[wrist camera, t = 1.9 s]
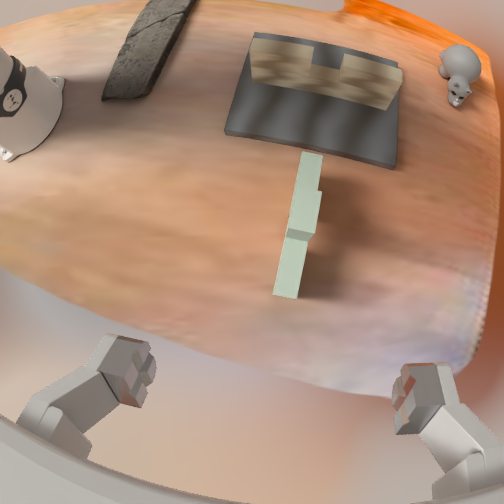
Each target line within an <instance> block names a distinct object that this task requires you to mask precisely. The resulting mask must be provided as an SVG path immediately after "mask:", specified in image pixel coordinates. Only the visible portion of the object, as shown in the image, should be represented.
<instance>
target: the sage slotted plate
mask: <svg viewBox="0 0 504 504" xmlns="http://www.w3.org/2000/svg"><path fill="white" fill-rule="evenodd" d="M322 160H323V155H319V154H314V153H309V152H305V151H302V154H301V158H300V163H299V167H298V172H297V176H296V182H295V187H294V192H293V197H292V202H291V207H290V212H289V220H288V225H287V230H286V235H285V240H284V244H283V247H282V252H281V257H280V262H279V266H278V271H277V276H276V281H275V285H274V290H273V294H274V295H278V296H283V297H288V298H293V299H297V295H298V290H299V285H300V280H301V275H302V271H303V266H304V261H305V256H306V250H307V245H308V242H309V240H310V239H311V238H312V237H313V235H314V234H315V230H316V224H317V219H318V213H319V207H320V201H321V195H322V191H317V190H318V184H319V178H320V172H321V166H322Z"/></svg>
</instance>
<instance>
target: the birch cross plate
mask: <svg viewBox="0 0 504 504" xmlns="http://www.w3.org/2000/svg"><path fill="white" fill-rule="evenodd" d="M402 83H403V81H402V70H401V69H398V62H395V61H392V60H389V59H385V58H382V57H379V56H375V55H372V54H368V53H364V52H361V51H357V50H353V49H349V48H345V47H340V46H336V45H332V44H327V43H322V42H317V41H312V40H306V39H301V38H295V37H288V36H282V35H274V34H267V33H258V32H255V33H254V36H253V39H252V42H251V45H250V48H249V51H248V54H247V57H246V60H245V63H244V66H243V69H242V72H241V76H240V79H239V82H238V85H237V88H236V92H235V95H234V98H233V101H232V105H231V108H230V111H229V115H228V118H227V122H226V125H225V128H224V131H225V134H226V135H232V136H238V137H245V138H251V139H257V140H263V141H268V142H274V143H279V144H285V145H290V146H295V147H300V148H305V149H309V150H314V151H319V152H323V153H328V154H332V155H336V156H341V157H345V158H349V159H353V160H357V161H361V162H365V163H368V164H372V165H376V166H380V167H383V168H387V169H390V170H393V169H394V168H395V167H396V159H397V139H398V90H399V88H400V86H401V85H402Z"/></svg>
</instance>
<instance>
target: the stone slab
mask: <svg viewBox="0 0 504 504" xmlns="http://www.w3.org/2000/svg"><path fill="white" fill-rule="evenodd" d="M195 2H196V0H150V1H149V2H148V4H147V5H146V6H145V8H144V9H143V10H142V12H141V13H140V14H139V16H138V18H137V19H136V21H135V23H134V24H133V26H132V28H131V30H130V31H129V33H128V35H127V38H126V41H125V44H124V45H123V46H122V48H121V50H120V51H119V54H118V56H117V59H116V60H115V63H114V65H113V68H112V71H111V73H110V76H109V78H108V80H107V83H106V86H105V88H104V91H103V95H102V99H101V100H102V102H103V101H104V100H105V99H108V98H118V97H122V98H138V97H139V96H141V95H147V94H148V93H149V92H150V91H151V89H152V87H153V86H154V84H155V82H156V80H157V78H158V76H159V74H160V73H161V70H162V68H163V66H164V64H165V62H166V59H167V57H168V55H169V53H170V51H171V49H172V47H173V45H174V43H175V42H176V40H177V38H178V36H179V33H180V32H181V30H182V27H183V25H184V23H185V21H186V18H187V17H188V14H189V13H190V11H191V9H192V7H193V5H194V4H195Z"/></svg>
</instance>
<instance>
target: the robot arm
mask: <svg viewBox="0 0 504 504" xmlns="http://www.w3.org/2000/svg"><path fill="white" fill-rule="evenodd" d="M63 86H64V79H62V78H61V77H52V76H47V75H46V74H45V73H44V72H42V71H41V70H40V69H39V68H38V67H36V66H35V67H26V68H25V66H24V65H23V64H22V63H21V62H20V61H19V60H18V59H16V58H15V57H14V56H9V55H8V54H7V53H6V52H5V51H4V50H3V49H2V48H1V47H0V154H1V155H2V157H3V159H4V160H5V161H6V162H10V161H12V160H13V159H14V158H15V157H17V156H18V155H20V154H23V153H26V152H29V151H31V150H32V149H34V148H35V147H37V146H38V145H39V144H40V143H41V142H42V141H43V140H44V139H45V138H46V137H47V136H48V134H49V133H50V132H51V130H52V129H53V127H54V126H55V124H56V122H57V120H58V118H59V115H60V112H61V109H62V89H63ZM150 349H151V347H150V345H149V343H148V342H146V341H142V340H137V339H133V338H128V337H124V336H120V335H115V334H111V333H107V334H106V335H104V336H103V338H102V340H101V342H100V343H99V345H98V346H97V348H96V349H95V351H94V352H93V354H92V356H91V358H90V359H89V361H88V362H87V364H86V366H85V367H79V368H78V369H76V370H74V371H73V372H71V373H69V374H68V375H66V376H64V377H63V378H61V379H59V380H57V381H56V382H54V383H53V384H51V385H49V386H47V387H46V388H44V389H42V390H40V391H39V392H37V393H35V394H34V395H32V397H31V398H30V400H29V401H28V403H27V405H26V406H25V408H24V410H23V411H22V413H21V415H20V417H19V418H18V420H17V422H16V423H14V422H13V421H11V420H9V419H7V418H6V417H4V416H3V415H1V414H0V504H249V503H241V502H235V501H229V500H223V499H217V498H212V497H207V496H202V495H198V494H193V493H188V492H184V491H180V490H177V489H173V488H168V487H165V486H162V485H158V484H155V483H151V482H148V481H145V480H141V479H138V478H135V477H132V476H129V475H126V474H124V473H121V472H118V471H115V470H112V469H109V468H107V467H104V466H102V465H99V464H97V463H94V462H92V461H90V460H87V457H88V455H89V453H90V450H91V448H92V444H91V442H90V441H89V440H88V439H87V438H86V437H85V436H84V435H83V433H85V432H86V431H87V430H89V429H90V428H91V427H92V426H94V425H95V424H96V423H97V422H98V421H100V420H101V419H102V418H103V417H105V416H106V415H107V414H108V413H110V412H111V411H112V410H113V409H114V408H116V407H117V406H118V405H119V403H121V404H125V405H129V406H133V407H138V408H141V407H142V405H143V403H144V400H145V398H146V396H147V394H148V393H147V389H146V387H147V386H148V385H149V384H151V383H152V382H153V379H154V377H155V373H156V361H155V358H154V357H153V356H152V355H151V354H150V353H149V351H150ZM392 405H393V407H394V408H395V409H396V410H397V411H398V412H397V413H396V415H395V416H394V424H395V434H396V435H404V434H419V436H420V438H421V439H422V441H423V442H424V443H425V445H426V446H427V448H428V449H429V451H430V452H431V453H432V455H433V456H434V458H435V459H436V461H437V462H438V464H439V465H440V467H441V468H442V470H443V471H444V472H445V474H444V475H443V476H442V477H440V478H439V479H438V480H436V481H435V482H434V483H433V484H432V496H433V500H431V501H426V502H419V503H412V504H504V445H503V444H502V443H501V442H500V440H499V439H498V438H497V437H496V436H495V435H494V434H493V433H492V432H491V431H490V430H489V429H488V428H487V427H486V426H485V425H484V424H483V422H482V421H481V420H480V419H479V418H478V417H477V416H476V415H475V414H474V413H473V412H472V411H471V410H470V409H469V408H468V407H467V406H466V405H465V404H464V403H461V404H460V401H459V397H458V393H457V389H456V386H455V382H454V379H453V375H452V372H451V368H450V365H449V364H448V363H447V362H444V363H411V364H405V365H403V367H402V369H401V376H400V377H399V378H397V379H396V381H395V383H394V385H393V390H392Z"/></svg>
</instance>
